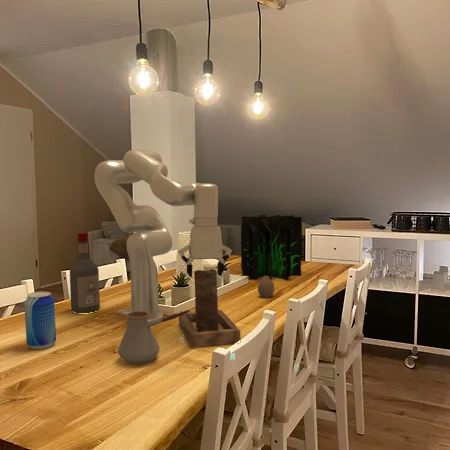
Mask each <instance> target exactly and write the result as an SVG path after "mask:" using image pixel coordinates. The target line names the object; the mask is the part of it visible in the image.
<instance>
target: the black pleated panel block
mask: <svg viewBox="0 0 450 450" xmlns="http://www.w3.org/2000/svg"><path fill="white" fill-rule="evenodd" d="M241 220H242V221H241V226H240V251H241V252H240V262H241V263H240V265H241V266H240V269H241V274H242V276H248V280H255V281H256V280H258V279H259V278H263V276H269V278H270V279H271V281H272V280H273V278H277V279H279V280H284V281H288V279H290V277H301V276H302V258H303V256H302V255H303V226H302V225H303V222H302V221H303V217H302V216H294V215H293V214H291V215H280V214H275V215H271V216H266V214H265V215H264V214H258V216H242V217H241ZM272 282H273V281H272Z"/></svg>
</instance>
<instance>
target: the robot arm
mask: <svg viewBox="0 0 450 450" xmlns="http://www.w3.org/2000/svg"><path fill="white" fill-rule="evenodd" d="M168 175H169V169H168V166H167V165H166V164H165V163H163V157H162V156H161V154H159V152H157V151H156V150H152V149H142V148H141V149H140V148H139V149H138V148H134V149H130V150H129V151H126V152H125V154H124V156H123V158H122V159H121V160H119V159H115V160H114V159H109V160H104V161H101V162H100V163H99V164H98V165H97V166H96V168H95V171H94V183H95V185H96V188H97V191H98V193H99V194H100V196H101V197H102V198H103V200H104V202H106V205H107V207H109V210H110V212H111V213H112V215H113V218H114V219H115V220H116V223H117V224H118V227H119V228H120V229H121V230H122V231H123V232H125V233H132V234H131V235H129V237H128V238H127V241H126V251H127V254H128V261H129V269H130V270H129V271H130V295H131V296H130V301H131V302H130V303H131V305H129V306H130V307H127V308H125V309H124V308H122V309H121V308H120V309H118V315H119V316H122V317H123V316H125V317H126V315H127V314H128V313H131V312H138V311H143V312H148V313H149V314H150V315H149V317H148V320H147V321H148V324H150V323H153V322H156V321H159V320H161V319H163V318H164V314H163V312H160V311H159V310H160V309H159V307H160V306H159V277H158V273H159V272H158V266H157V264H156V262H155V260H154V258H153V257H158V256H161V255H166V254H168V253H169V252H170V251H171V250H172V248H173V238H172V236H171V234H170V231H169V230H168V228H167V226H166V224H165V222H164V221H163V219H162V217H161V215H160V214H159V212H158V211H157V210H156V208H154V207H153V206H151V205H147V204H146V205H145V204H143V205H137V204H136V203H135V202H134V200H133V198H132V197H131V195H130V193H128V191H127V190H125V189H124V188H123V187H122V186H120V185H119V184H134V183H138V182H141V181H144V182H145V183H147V184H148V185H149V188H150V190H151V192H152V194H153V196H155V198H157V199H159V200H160V201H161V202H164V203H165V204H166V205H169V206H171V207H183V206H184V207H185V206H193V218H190V219H189V220H188V221H189V222H188V223H189V224H191V225H193V226H191V229H190V236H189V244H188V245H186V246H184V247H182V248H180V249H179V250H178V254H179V257H180V258H181V260H182V261H184V263H186V274H187V275H188V277H189V278H192V277H193V264H192V263H193V262H194V260H213V259H214V260H215V259H217V260H218V262H217V270H216V273H217V276H220V277H222V276H223V273H224V264H225V263H226V262H227V260H228V259H229V257H230V256H231V253H232V252H233V250H232V249H231V248H230V247H228V246H226V245H224V244H223V240H222V239H223V238H222V230H221V227H220V226H218V224H219V223H218V221H219V219H218V216H219V215H218V214H219V212H218V209H219V188H218V185H217V184H214V183H201V182H194V181H179V182H178V181H177V182H175V181H173V180H171V179H169V178H168ZM223 250H224V251H225V254H224V255H223ZM186 252H188V254H189V256H188V257H186V255H185V253H186Z"/></svg>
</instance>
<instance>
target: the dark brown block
mask: <svg viewBox="0 0 450 450" xmlns="http://www.w3.org/2000/svg"><path fill="white" fill-rule="evenodd" d="M193 275H194V295H195V296H194V302H195V303H194V305H195V307H194V309H195V312H196V328H197V329H199V330H200V331H203V332H205V331H216V330H218V329H219V320H218V310H219V304H218V302H219V301H218V300H219V299H218V280H217V279H218V273H217V270H216V269H214V268H212V269H211V268H210V269H209V270H208V269H205V270H202V269H197V270H194V272H193Z"/></svg>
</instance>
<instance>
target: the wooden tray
mask: <svg viewBox="0 0 450 450" xmlns="http://www.w3.org/2000/svg"><path fill="white" fill-rule="evenodd" d="M191 313H192V317H191ZM191 313H190V312H189V313H187V314H184V315H183V316H179V317H178V325H179V327H180V329H181V331H182V332H183V334H184V336H185V338H186V340H187V342H188V344H189V346H190V347H191V349H197V348H198V349H199V348H206V347H215V346H226V345H235V344H234V343H236V342H238V341H239V340H240V341H241V329H240V328H239V327H238V326H237V325H236V324H235V323H234V322H233V321H232V320H231V319H230V318H229V317H228V315H227V314H226V313H225V312H224V311H223V310H222V309H218V320H219V329H218V330H216V331H205V332H203V331H200V330H199V329H197V328H196V311H191ZM188 314H189V316H190V317H189V316H188Z"/></svg>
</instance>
